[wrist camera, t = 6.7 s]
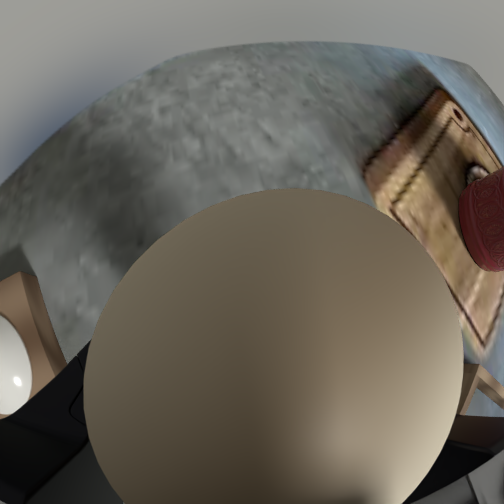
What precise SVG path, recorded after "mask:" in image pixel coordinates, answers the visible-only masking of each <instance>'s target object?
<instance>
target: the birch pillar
mask: <svg viewBox="0 0 504 504" xmlns="http://www.w3.org/2000/svg"><path fill="white" fill-rule="evenodd" d="M462 379H463V342H462V333H461V328H460V323H459V318H458V314H457V310H456V307H455V304H454V301H453V298H452V295H451V293H450V290H449V288H448V286H447V284H446V282H445V279H444V277H443V276H442V274H441V272H440V271H439V269H438V267H437V266H436V264H435V262H434V261H433V259H432V258H431V257H430V255H429V254H428V253H427V252H426V250H425V249H424V248H423V246H422V245H421V244H420V243H419V242H418V241H417V240H416V239H415V238H414V237H413V236H412V235H411V234H410V233H409V232H408V231H407V230H406V229H405V228H404V227H402V226H401V225H400V224H398V223H397V222H396V221H394V220H393V219H391V218H390V217H389V216H387V215H386V214H384V213H382V212H380V211H379V210H377V209H375V208H373V207H371V206H369V205H368V204H365V203H363V202H360V201H357V200H355V199H352V198H350V197H347V196H344V195H339V194H335V193H331V192H326V191H322V190H311V189H299V188H290V189H274V190H265V191H260V192H255V193H250V194H245V195H241V196H237V197H235V198H232V199H229V200H226V201H223V202H221V203H218V204H215V205H212V206H210V207H208V208H206V209H204V210H203V211H201V212H199V213H197V214H195V215H193V216H191V217H189V218H188V219H186V220H184V221H182V222H181V223H180V224H178V225H177V226H176V227H174V228H173V229H171V230H170V231H169V232H167V233H166V234H165V235H163V236H162V237H161V238H159V239H158V240H157V241H156V242H155V243H154V244H153V245H152V246H151V247H150V248H149V249H148V250H146V251H145V252H144V253H143V254H142V255H141V256H140V257H139V258H138V259H137V260H136V261H135V262H134V264H133V265H132V266H131V268H130V269H129V270H128V271H127V273H126V274H125V275H124V277H123V278H122V280H121V281H120V282H119V284H118V285H117V286H116V288H115V289H114V291H113V293H112V294H111V296H110V298H109V300H108V302H107V304H106V306H105V308H104V309H103V311H102V313H101V315H100V317H99V320H98V322H97V325H96V328H95V331H94V334H93V337H92V340H91V343H90V346H89V350H88V355H87V361H86V367H85V373H84V413H85V419H86V424H87V430H88V435H89V439H90V442H91V445H92V447H93V450H94V453H95V456H96V458H97V461H98V463H99V465H100V467H101V469H102V471H103V473H104V474H105V476H106V478H107V480H108V481H109V483H110V485H111V486H112V488H113V489H114V490H115V492H116V493H117V494H118V495H119V497H120V498H121V499H122V500H123V502H124V503H125V504H402V503H403V502H404V501H405V500H406V498H407V497H408V496H409V495H410V494H411V493H412V492H413V491H414V490H415V489H416V488H417V486H418V485H419V484H420V482H421V481H422V480H423V478H424V477H425V476H426V474H427V473H428V472H429V470H430V469H431V467H432V465H433V464H434V462H435V460H436V459H437V457H438V455H439V454H440V452H441V450H442V448H443V446H444V443H445V441H446V439H447V437H448V435H449V432H450V429H451V427H452V424H453V421H454V418H455V415H456V411H457V407H458V403H459V399H460V394H461V387H462Z"/></svg>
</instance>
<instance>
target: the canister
mask: <svg viewBox="0 0 504 504" xmlns="http://www.w3.org/2000/svg"><path fill="white" fill-rule="evenodd" d="M459 219H460V225H461V229H462V233H463V237H464V240H465V243H466V245H467V248H468V250H469V252H470V254H471V256H472V257H473V259H474V260H475V262H476V263H477V264H478V265H479V266H480V267H481V268H482V269H483V270H485V271H489V272H490V271H493V272H499V271H503V270H504V166H503V167H502V168H500V169H498V170H497V171H495V172H493V173H491V174H489V175H487V176H486V177H484V178H482V179H478V180H475V181H474V182H472V183H470V184H469V185H468V186H467V187H466V188H465V189H464V190H463V191H462V193H461V195H460V199H459Z"/></svg>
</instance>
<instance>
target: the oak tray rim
mask: <svg viewBox="0 0 504 504" xmlns="http://www.w3.org/2000/svg"><path fill="white" fill-rule="evenodd" d="M476 387H477V388H478V389H479V390H480V391H482V392H483V393H484V394H485V395H487V396H488V397H489V398H490V399H491V400H493V401H494V402H495V403H496V404H498V405H499V406H500V407H501V408H502V409H504V387H503V386H502V385H501V384H500V383H499V382H498V381H497V380H496V379H495V378H494V377H493V376H491V375H490V374H489V373H488V372H487V371H486V370H485V369H484V368H483V367H482V366H481V365H480V364H466V363H463V379H462V387H461V394H460V399H459V403H458V407H457V411H456V414H460V415H465V413H466V411H467V409H468V406H469V404H470V402H471V399H472V397H473V394H474V392H475V389H476Z"/></svg>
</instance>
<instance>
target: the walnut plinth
mask: <svg viewBox="0 0 504 504" xmlns="http://www.w3.org/2000/svg"><path fill="white" fill-rule="evenodd" d="M66 365H67V363H66V360H65V358H64V356H63V353H62V351H61V348H60V346H59V343H58V341H57V338H56V335H55V333H54V330H53V327H52V324H51V322H50V319H49V316H48V313H47V310H46V307H45V303H44V300H43V297H42V294H41V290H40V287H39V283H38V279H37V277H36V276H33V275H30V274H27V273H24V272H21V271H19V272H17V273H15V274H13V275H11V276H10V277H8V278H6V279H4V280H2V281H0V419H2V418H5V417H7V416H9V415H11V414H12V413H14V412H15V411H17V410H18V409H19V408H20V407H21V406H23V405H24V404H25V403H26V402H27V401H28V400H29V399H31V398H32V397H33V396H34V395H35V394H36V393H37V392H39V391H40V390H41V389H42V388H43V387H44V386H46V385H47V384H48V383H49V382H50V381H51V380H52V379H53V378H54V377H55V376H57V375H58V374H59V373H60V372H61V371H62V370H63V368H64V367H65V366H66Z"/></svg>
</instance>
